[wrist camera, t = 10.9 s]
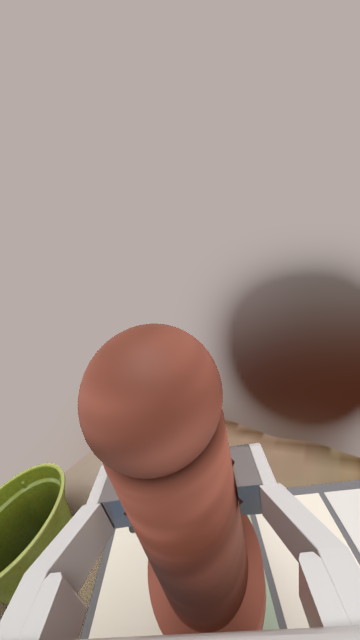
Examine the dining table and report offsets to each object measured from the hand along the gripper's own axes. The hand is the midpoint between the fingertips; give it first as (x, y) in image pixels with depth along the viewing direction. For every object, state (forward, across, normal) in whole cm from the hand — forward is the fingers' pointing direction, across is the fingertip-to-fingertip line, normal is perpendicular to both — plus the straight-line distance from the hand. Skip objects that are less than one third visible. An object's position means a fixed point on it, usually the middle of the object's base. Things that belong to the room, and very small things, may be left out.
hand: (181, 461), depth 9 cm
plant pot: (+4, +19, +19) cm, 27 cm away
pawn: (-1, 0, +7) cm, 7 cm away
